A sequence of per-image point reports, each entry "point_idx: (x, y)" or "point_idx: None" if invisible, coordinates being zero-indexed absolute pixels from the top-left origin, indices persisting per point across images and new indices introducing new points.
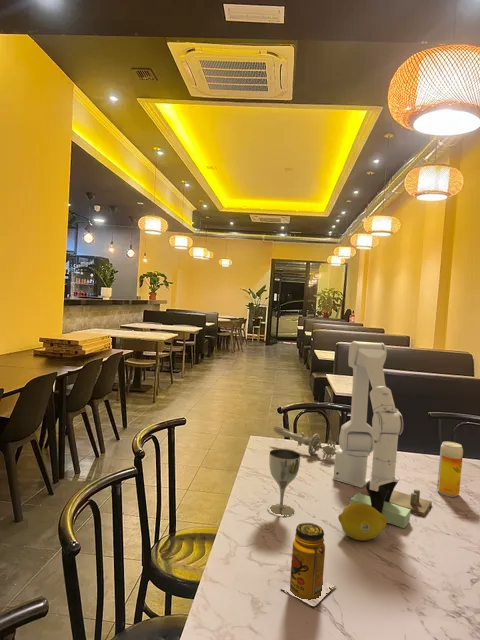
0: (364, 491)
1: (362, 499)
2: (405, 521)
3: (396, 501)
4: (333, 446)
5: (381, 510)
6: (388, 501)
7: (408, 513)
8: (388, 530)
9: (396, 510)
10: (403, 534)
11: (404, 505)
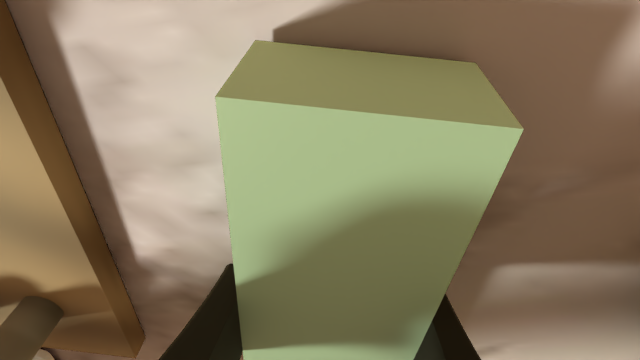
0: (96, 351)
1: None
2: (463, 86)
3: (10, 204)
4: None
5: (458, 321)
6: (233, 308)
7: (331, 99)
8: (550, 171)
9: (383, 231)
10: (593, 45)
11: (5, 141)
